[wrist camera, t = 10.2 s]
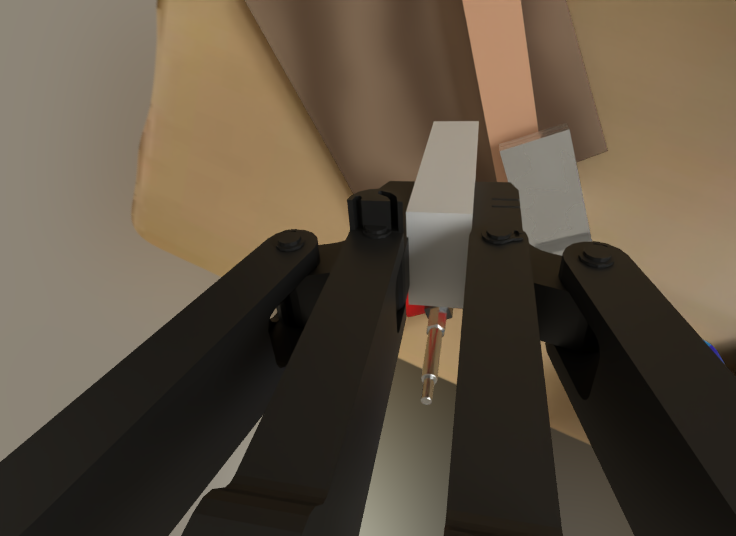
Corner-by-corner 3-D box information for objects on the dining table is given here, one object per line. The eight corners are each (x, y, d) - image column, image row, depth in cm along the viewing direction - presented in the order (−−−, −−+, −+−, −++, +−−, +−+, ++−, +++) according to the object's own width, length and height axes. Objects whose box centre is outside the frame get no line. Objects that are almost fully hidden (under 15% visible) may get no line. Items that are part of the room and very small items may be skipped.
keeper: (496, 118, 34) (499, 151, 29) (554, 98, 32) (569, 129, 27) (528, 234, 39) (535, 281, 33) (580, 221, 37) (597, 268, 32)
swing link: (420, -136, 25) (413, -145, 23) (513, -177, 24) (518, -192, 21) (484, 177, 34) (485, 198, 32) (554, 162, 33) (561, 183, 30)
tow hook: (361, 232, 42) (402, 313, 46) (319, 322, 31) (377, 417, 35) (451, 202, 39) (487, 292, 43) (439, 290, 28) (488, 399, 32)
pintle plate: (508, -195, 25) (510, -205, 23) (603, 143, 34) (609, 153, 32) (246, -14, 32) (235, -11, 31) (379, 226, 41) (375, 238, 39)
